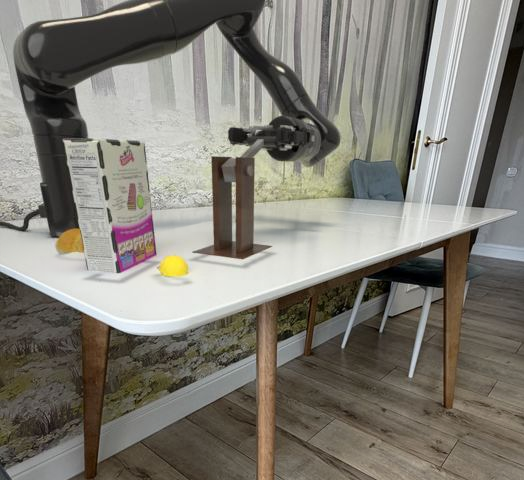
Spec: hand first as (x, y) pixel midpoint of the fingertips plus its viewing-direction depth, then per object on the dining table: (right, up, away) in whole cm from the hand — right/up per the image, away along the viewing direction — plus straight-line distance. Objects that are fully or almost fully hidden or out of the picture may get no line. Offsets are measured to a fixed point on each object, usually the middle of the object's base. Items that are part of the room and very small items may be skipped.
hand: (254, 134), depth 63 cm
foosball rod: (-1, -4, 0) cm, 5 cm away
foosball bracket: (-3, -19, +2) cm, 19 cm away
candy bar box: (-18, -23, -7) cm, 30 cm away
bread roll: (-27, -19, +1) cm, 33 cm away
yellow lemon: (-11, -25, -11) cm, 30 cm away
